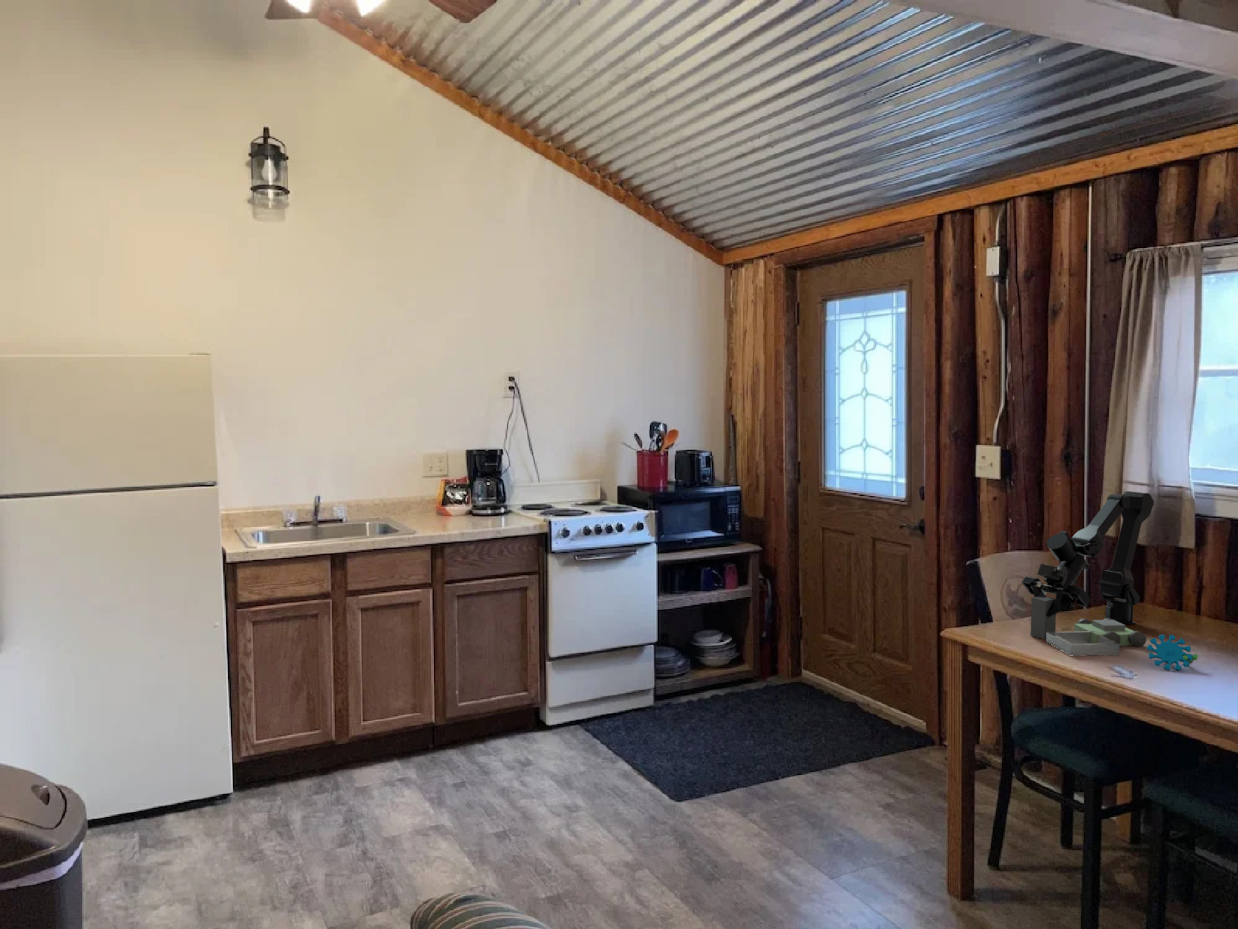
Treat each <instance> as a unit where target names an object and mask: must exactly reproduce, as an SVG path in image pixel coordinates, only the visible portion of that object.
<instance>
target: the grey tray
mask: <svg viewBox="0 0 1238 929" xmlns="http://www.w3.org/2000/svg"><path fill="white" fill-rule="evenodd" d="M1092 632H1094V631H1092ZM1045 640H1046V641H1045V643H1046V642H1047V644H1048V643H1049V644H1048V645H1050V644H1052V645H1054V646H1055V647H1057V648H1058V649H1060V650H1063V651H1064V652H1066V653H1067V654H1069V655H1073V656H1072V657H1082V656H1081V655H1109V656H1119V655H1120V646H1121V645H1120V644H1118V643H1116V642H1114V641H1112V640H1110V639H1108V638H1106V637H1104V636H1102V635H1099V636H1098V643H1093V642H1091V631H1074V630H1073V631H1070V630H1069V631H1055V632H1047V633H1046V639H1045ZM1055 647H1054V648H1055ZM1057 648H1056V649H1057ZM1058 649H1057V650H1058ZM1060 650H1059V651H1060ZM1064 652H1063V653H1064ZM1067 654H1066V655H1067ZM1069 655H1068V656H1069Z"/></svg>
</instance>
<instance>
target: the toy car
mask: <svg viewBox="0 0 1238 929" xmlns="http://www.w3.org/2000/svg"><path fill="white" fill-rule="evenodd" d="M1104 618H1105V617H1104ZM1104 618H1103V619H1092V620H1089V619H1087V618H1081V619H1079V620H1077V622H1076V623H1074V625H1073V626H1074V629H1073V631H1091V642H1093V643H1098V636H1099V635H1102V636H1104V637H1106V638H1108V639H1110V640H1112V641H1114V642H1116V643H1118V644H1120V646H1134V647H1136V648H1140V647H1143V646H1145V645H1146V643H1147V636H1146V634H1145V633H1143V632H1141V631H1138V630H1133V629H1131V628H1128V627H1126V624H1122V623H1119V622H1117V621H1115V620H1112V619H1110V618H1105V619H1104ZM1092 631H1094V632H1092Z"/></svg>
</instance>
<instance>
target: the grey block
mask: <svg viewBox="0 0 1238 929" xmlns="http://www.w3.org/2000/svg"><path fill="white" fill-rule="evenodd" d="M1055 599H1056V598H1054V597H1049V596H1047V595H1045V596H1039V597H1034V596H1033V597H1031V611H1030V614H1031V615H1030V637H1033V638H1036V639H1040V638H1043V639H1045V640H1046V633H1047V632H1056V627H1057V626H1056V621H1057V620H1056V619H1057V613H1056V614H1054V615H1052V616H1050V617H1047V615H1046V614H1047V612H1048V610H1049V608H1050V607H1051V605H1052V604H1053V602H1054V600H1055ZM1043 639H1042V640H1043Z"/></svg>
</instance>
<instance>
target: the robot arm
mask: <svg viewBox="0 0 1238 929" xmlns="http://www.w3.org/2000/svg"><path fill="white" fill-rule="evenodd" d="M1154 505H1155V500H1154V499H1153V497H1152V495H1151V494H1150V493H1148V492H1139V491H1125V492H1124V493H1121V494H1120V493H1111V494H1109V495H1108V496H1107V499H1106V502H1105V503H1104V505H1103V506H1101V508H1100V510H1099V511H1098V512H1097V514H1096V515H1095V516H1094V518H1093V519H1092V520H1091V522H1090V523H1089V524H1088V525H1087V526H1086V527H1084V528H1082V529H1080V530H1077V532H1076V533H1074V535H1073V536H1072V537H1071V536H1070V533H1068V531H1063V530H1061V531H1059V533H1056V534H1054V535H1052V536H1050V537H1049V538H1048V539H1047V541H1046V546H1047V548H1048V549H1049V551H1050V552H1051V553H1052V555H1053V556H1054V558H1055V559H1056V560H1057V561H1059V562H1060V563H1059V564H1058V565H1057V566H1054V565H1051V564H1045V563H1040V564H1039V567H1038V569H1037V572H1036V575H1038V576H1041V577H1043V581H1044V582H1045V584H1044V583H1042V581H1041V579H1040V578H1039V577H1033V576H1029V575H1027V576H1025V577H1024V578H1023V580H1022V581H1021V583H1022V585H1023V586H1024V588H1025V589H1026V591H1028V594H1031V595H1033V597H1039V596H1047V593H1049V594H1054V595H1055V598H1054V599H1055V600H1054V602H1053V604H1052V605H1051V607H1050V608H1049V610H1048V612H1047V614H1046V615H1047V617H1050V616H1052V615H1054V614H1056V615H1057V613H1059V612H1062V611H1064V610H1066V609H1068V608H1071V607H1073V608H1074V607H1075V606H1076V605H1077V606H1080V607H1084V608H1087V607H1088V605H1089V603H1090V602H1091V599H1090V596H1089V595H1088V593H1087V592H1086V590H1085V589H1084V588H1083V587H1081V586H1076V585H1078V583H1079V581H1078V580H1077V579H1078V578H1079V576H1080V575H1081V572H1082V571H1083V570H1087V571H1088V570H1090V563H1089V560H1088V559H1085V557H1090V558H1095V557H1097V555H1099V553H1100V552H1101V549H1102V548H1103V547H1104V544H1105V543H1104V537H1105V535H1106V534H1107V533H1108V531H1109V530H1110V529H1111V528H1112V526H1113V525H1114V524H1115V522H1116V521H1117V519H1119V516H1121V518H1122V521H1121V522H1122V523H1121V527H1120V531H1119V535H1118V538H1117V543H1116V548H1115V551H1114V556H1113V559H1112V563H1111V567H1109V568H1108V569H1107V570H1106V569H1103V571H1102V573H1101V578H1100V581H1099V589H1100V594H1101V598H1102V600H1103V601H1106V604H1107V605H1105V611H1104V612H1105V613H1104V617H1103V619H1105V618H1110V619H1112V620H1115V621H1117V622H1119V623H1122V624H1124V625H1136V624H1137V622H1135V621H1134V606H1137V604H1139V602H1140V598H1141V596H1140V595H1139V593H1138V592H1137V590H1136V589H1135V588H1134V586H1135V580H1134V577H1133V573H1132V572H1131V570H1132V564H1133V561H1134V556H1135V553H1136V549H1137V544H1138V541H1139V540H1138V539H1139V536H1140V532H1141V529H1142V528H1141V527H1142V524H1143V523H1144V522H1145V521H1146V520H1147V519H1148V518H1149V517H1150V515H1151V513H1152V510H1153V507H1154Z"/></svg>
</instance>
